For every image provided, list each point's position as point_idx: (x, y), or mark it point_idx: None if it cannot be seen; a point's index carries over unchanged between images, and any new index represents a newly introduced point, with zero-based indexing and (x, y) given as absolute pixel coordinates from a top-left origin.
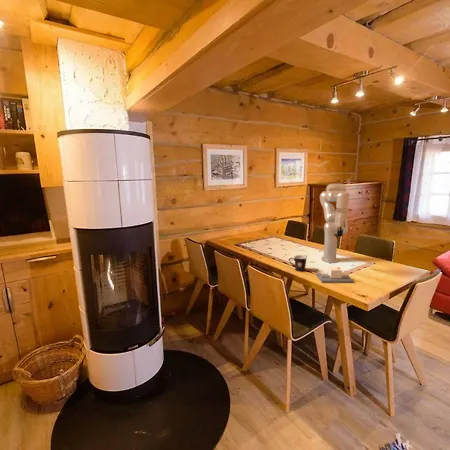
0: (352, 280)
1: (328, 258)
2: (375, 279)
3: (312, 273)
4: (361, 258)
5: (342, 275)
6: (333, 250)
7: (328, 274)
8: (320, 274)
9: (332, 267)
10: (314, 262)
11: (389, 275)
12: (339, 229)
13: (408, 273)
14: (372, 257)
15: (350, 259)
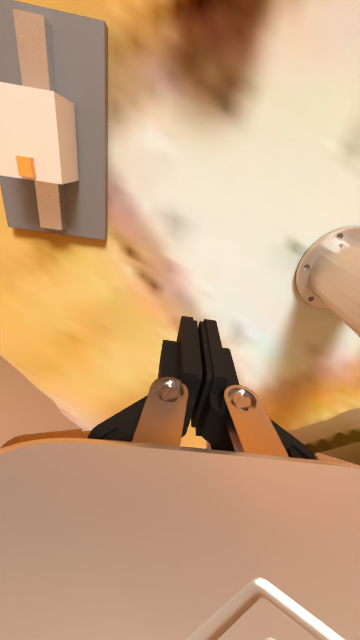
0: (10, 223)
1: (328, 256)
2: (71, 334)
3: (154, 14)
4: (298, 398)
5: (36, 187)
6: (342, 300)
7: (37, 88)
8: (40, 16)
9: (52, 131)
10: (346, 157)
11: (115, 392)
12: (144, 409)
13: None
14: (292, 429)
15: (305, 360)
